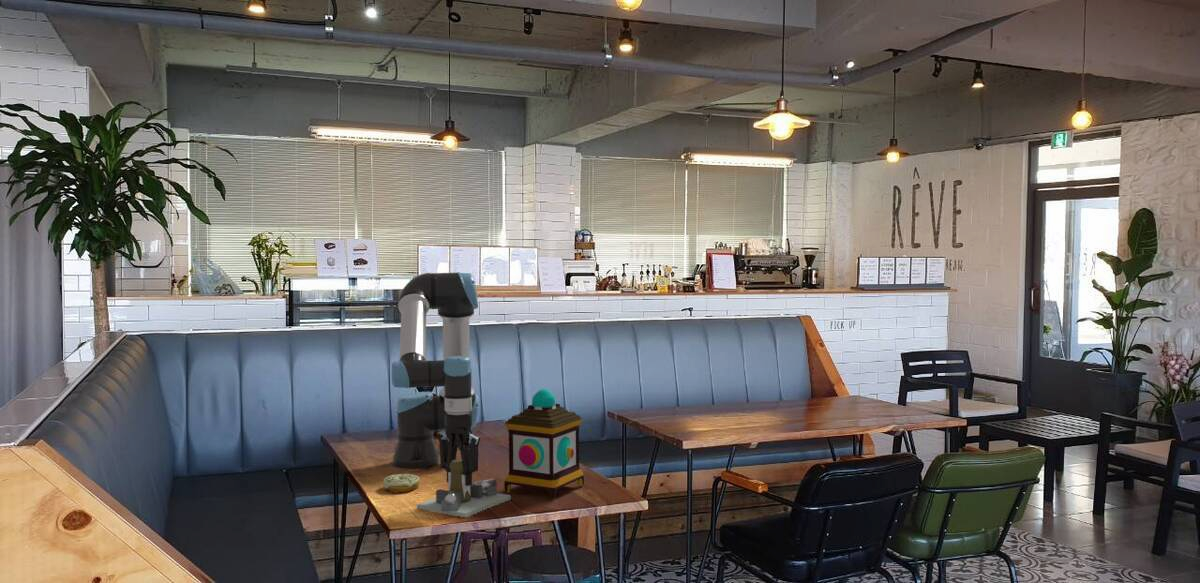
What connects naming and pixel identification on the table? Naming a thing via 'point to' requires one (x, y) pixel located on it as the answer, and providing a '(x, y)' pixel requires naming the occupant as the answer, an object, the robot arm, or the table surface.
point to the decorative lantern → (544, 446)
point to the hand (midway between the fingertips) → (459, 495)
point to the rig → (465, 502)
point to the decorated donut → (401, 482)
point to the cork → (458, 479)
